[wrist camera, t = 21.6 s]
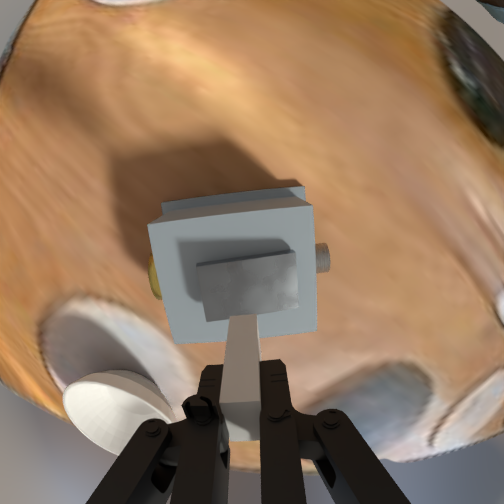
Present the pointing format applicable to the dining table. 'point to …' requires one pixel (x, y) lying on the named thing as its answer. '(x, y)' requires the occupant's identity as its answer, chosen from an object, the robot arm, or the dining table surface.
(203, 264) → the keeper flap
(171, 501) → the robot arm
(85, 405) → the bowl
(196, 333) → the block
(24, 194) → the dining table surface
